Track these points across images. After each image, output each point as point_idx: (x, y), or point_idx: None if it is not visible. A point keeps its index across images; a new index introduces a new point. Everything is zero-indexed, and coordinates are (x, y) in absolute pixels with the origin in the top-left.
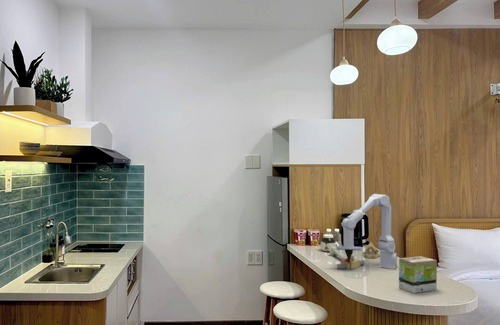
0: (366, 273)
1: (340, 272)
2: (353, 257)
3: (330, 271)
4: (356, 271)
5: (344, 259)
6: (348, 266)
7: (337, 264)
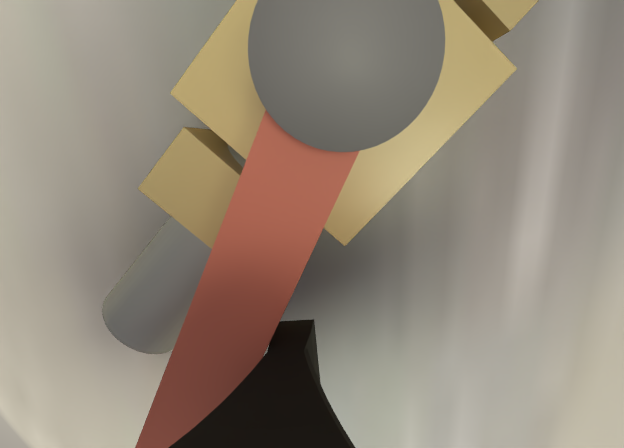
0: (545, 393)
1: None
2: (419, 106)
3: (96, 433)
4: (415, 340)
5: (187, 430)
6: None
7: (105, 313)
